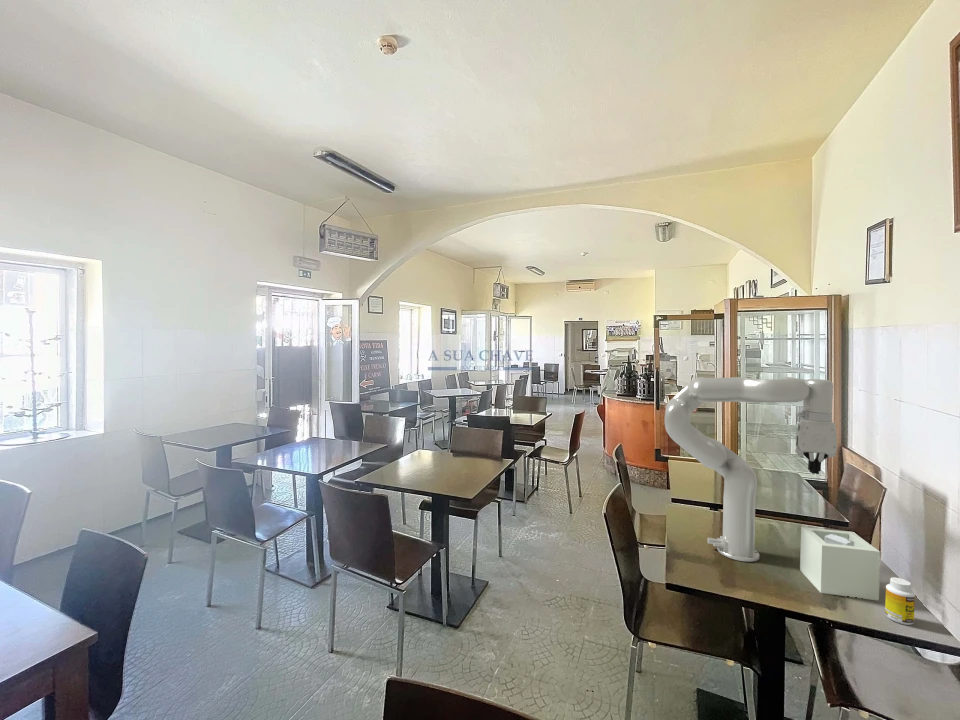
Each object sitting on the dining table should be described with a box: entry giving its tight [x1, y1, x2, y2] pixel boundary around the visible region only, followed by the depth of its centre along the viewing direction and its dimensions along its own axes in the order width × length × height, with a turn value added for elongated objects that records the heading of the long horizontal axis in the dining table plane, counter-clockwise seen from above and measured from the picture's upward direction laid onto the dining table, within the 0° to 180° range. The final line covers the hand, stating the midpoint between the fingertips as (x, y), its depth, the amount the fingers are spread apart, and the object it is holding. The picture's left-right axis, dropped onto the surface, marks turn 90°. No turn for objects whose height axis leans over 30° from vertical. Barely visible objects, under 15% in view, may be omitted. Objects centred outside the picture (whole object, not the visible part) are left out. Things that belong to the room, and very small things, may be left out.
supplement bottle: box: [884, 577, 916, 626], centre depth 116 cm, size 6×6×10 cm
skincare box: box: [824, 534, 854, 546], centre depth 133 cm, size 6×4×12 cm
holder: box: [799, 526, 881, 601], centre depth 133 cm, size 14×14×14 cm
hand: (814, 472), depth 144 cm, fingers closed
